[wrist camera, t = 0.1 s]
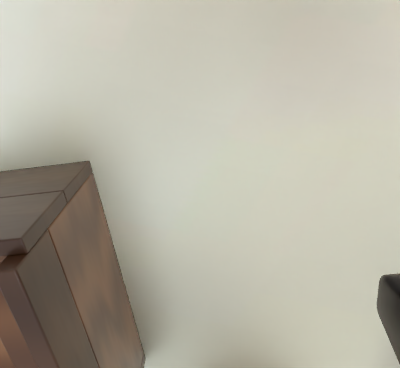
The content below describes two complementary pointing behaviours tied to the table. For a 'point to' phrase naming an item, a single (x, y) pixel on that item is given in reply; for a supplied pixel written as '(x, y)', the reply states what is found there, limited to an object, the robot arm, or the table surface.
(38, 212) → the shelf
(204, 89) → the table surface
